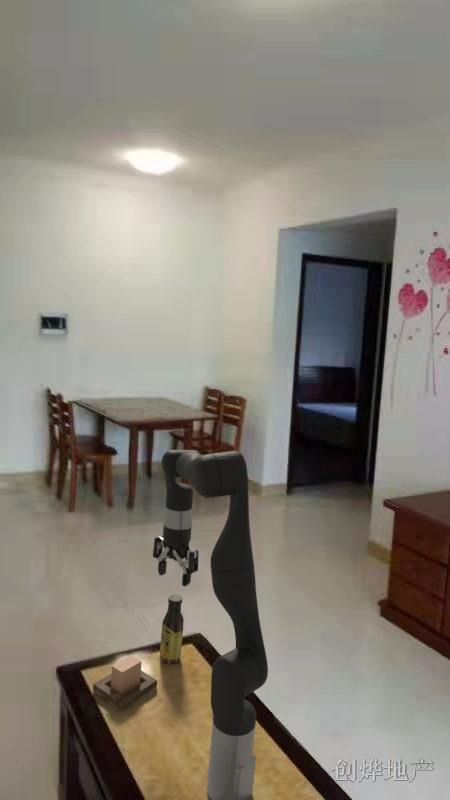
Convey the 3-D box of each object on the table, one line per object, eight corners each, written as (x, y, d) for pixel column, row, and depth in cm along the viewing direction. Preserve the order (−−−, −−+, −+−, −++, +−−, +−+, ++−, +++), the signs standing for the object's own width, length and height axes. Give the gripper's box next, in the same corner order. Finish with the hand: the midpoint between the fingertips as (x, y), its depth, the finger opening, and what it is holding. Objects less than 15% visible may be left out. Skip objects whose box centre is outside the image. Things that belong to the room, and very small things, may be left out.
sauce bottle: (156, 654, 181) (160, 592, 178) (176, 651, 184) (180, 590, 180) (163, 667, 175) (168, 603, 172) (184, 663, 178) (188, 600, 174)
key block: (120, 696, 160) (122, 672, 159) (110, 689, 162) (111, 665, 161) (140, 684, 165) (141, 661, 164) (130, 678, 168) (131, 654, 166)
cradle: (156, 688, 166) (157, 680, 165) (121, 711, 156) (121, 703, 155) (128, 671, 172) (129, 663, 172) (92, 692, 162) (93, 683, 162)
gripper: (148, 518, 163) (145, 575, 166) (188, 534, 155) (184, 593, 157) (167, 512, 169) (164, 566, 172) (207, 527, 160) (202, 584, 163)
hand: (173, 579), depth 164 cm, fingers open, 8 cm apart
